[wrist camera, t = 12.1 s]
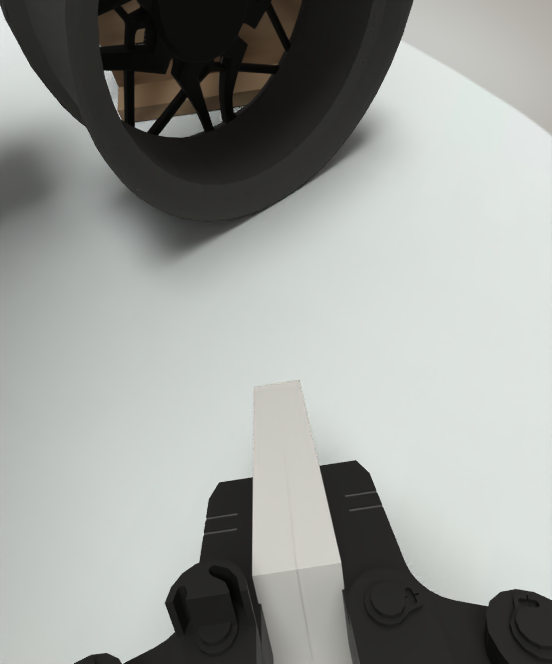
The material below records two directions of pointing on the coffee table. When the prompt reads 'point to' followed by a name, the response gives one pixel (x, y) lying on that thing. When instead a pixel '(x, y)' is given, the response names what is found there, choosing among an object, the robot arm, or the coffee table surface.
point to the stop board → (162, 88)
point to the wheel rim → (190, 70)
